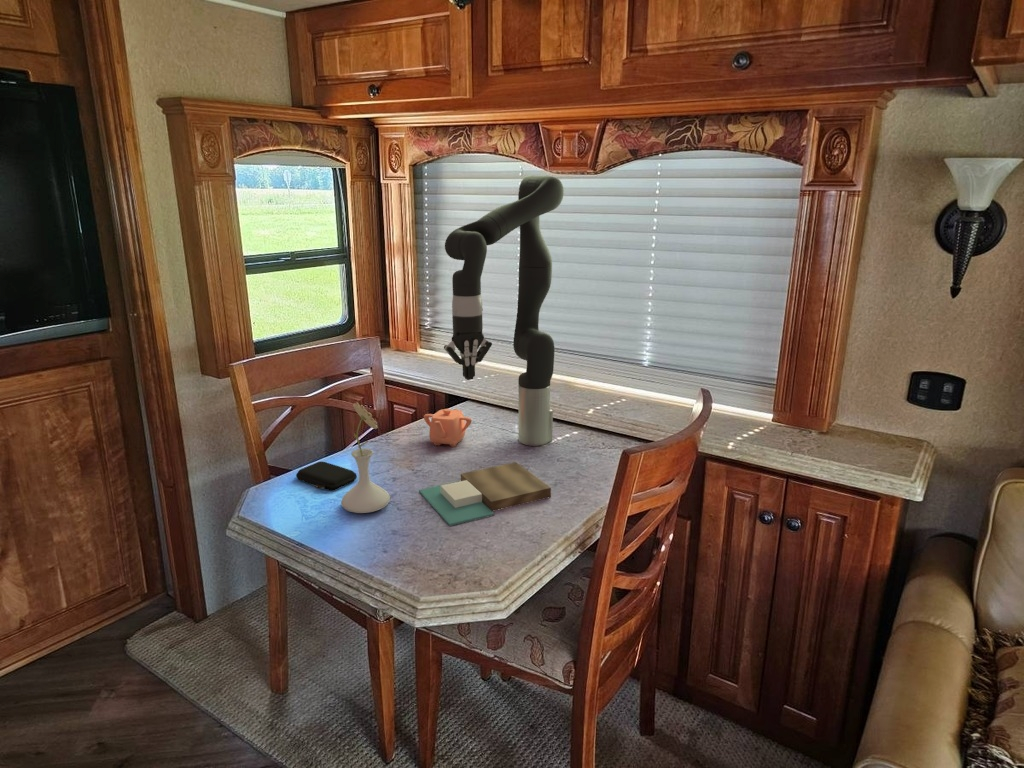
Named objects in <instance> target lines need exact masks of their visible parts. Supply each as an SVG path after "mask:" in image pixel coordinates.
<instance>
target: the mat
mask: <svg viewBox="0 0 1024 768" xmlns="http://www.w3.org/2000/svg"><path fill="white" fill-rule="evenodd" d="M460 481H461V480H459V481H457V482H460ZM455 482H456V481H454V482H452V483H455ZM450 483H451V482H448V484H450ZM446 484H447V483H445V484H443V485H446ZM441 485H442V484H440V485H439V484H438V485H435V486H431V487H426V488H421V489H418V493H420V495H421V494H422V495H421V496H422V497H423V498H424V500H426V501H427V502H428V503H429V504H430V506H431V507H432V508H433V509H434V510H435V511H436V512H437V514H438V515H439V516H440V517H441V518H442V519H443V521H445V523H446V524H448V525H449V527H451V526H455V525H456V524H457V525H461V524H464V522H465V523H469V522H472V520H473V521H476V520H475V519H477V520H480V519H479V518H481V519H485V518H488V517H487V516H489V517H492V516H491V515H493V516H495V513H494V511H491V510H490V509H489V508H488V507H487V506H486V505H485V504H484V503H483V502H478V503H474V504H470V505H465V506H461V507H457V508H455V507H454V506H453V505H452V504H451V503H450V502H449V501H448V500H447V499H446V498H445V497H444V496H443V495H442V494H441ZM484 517H485V518H484ZM468 521H469V522H468Z"/></svg>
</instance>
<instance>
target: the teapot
mask: <svg viewBox="0 0 1024 768" xmlns="http://www.w3.org/2000/svg"><path fill="white" fill-rule="evenodd" d="M430 418H431V420H430ZM423 420H424V422H425V423H426V424H427V425H428V426H429V434H428V437H429V441H430V442H431V443H433V445H434V446H436V445H438V446H441V445H442V444H444V445H449V446H451V447H450V448H455V446H456V445H457V444H458V443H459V442H461V440H462V441H463V438H464V437H465V435H466V433H467V432H466V431H467V429H468V428H469V427H470V426H471V423H472V421H473V420H472V418H471V417H469V416H464V413H463V411H462V410H459V409H457V408H454V409H450V408H444V409H440V410H437V411H436V412H435V413H434V414H433V413H426V414H424V415H423ZM440 444H441V445H440ZM456 447H457V446H456Z"/></svg>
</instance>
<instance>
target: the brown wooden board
mask: <svg viewBox="0 0 1024 768" xmlns="http://www.w3.org/2000/svg"><path fill="white" fill-rule="evenodd" d="M464 480H467V481H468V482H470V483H471V484H472V485H473V486H474V487H475V488H476V489H477V490H478V491H479V492H481V493H482V502H483V503H484V504H485V505H486V506H487V507H488V508H489V509H490V510H491V511H492V512H494V511H493V510H495V511H499V510H498V509H500V510H502V509H501V508H504V509H507V508H506V507H508V508H511V507H510V506H512V507H515V505H516V506H520V505H523V503H524V504H528V503H527V502H529V503H532V502H531V501H533V502H536V501H535V500H537V501H540V500H539V499H541V500H544V499H543V498H545V499H549V498H551V497H552V496H551V494H552V487H551V486H549V485H548V484H547V483H545V482H544V481H542V480H541V479H539V478H538V477H537V476H536V475H534V474H533V473H531V472H530V471H529V470H528V469H527V468H525V467H523V466H522V465H521V464H519V463H518V462H517V461H515V462H511V463H505V464H501V465H496V466H491V467H487V468H481V469H476V470H472V471H466V472H461V473H460V481H464ZM548 497H549V498H548ZM519 504H520V505H519Z"/></svg>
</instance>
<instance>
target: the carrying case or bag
mask: <svg viewBox="0 0 1024 768" xmlns="http://www.w3.org/2000/svg"><path fill="white" fill-rule="evenodd" d="M295 477H296V478H297V481H301V482H303V483H306V484H309V485H311V486H314V487H315V488H316V489H320V490H321V489H322V490H326V491H330V492H331V491H333V492H334V491H337V490H339V489H341V488H343V487H345V486H347V485H350V484H352V483H353V482H355V481H356V480H357V478H358V477H357V473H355V472H354V471H353V470H351V469H349V468H345V467H342V466H340V465H337V464H333V463H330V462H326V461H318V462H316V463H313V464H311V465H307V466H306V467H303V468H301V469H299V470H298V471H297V472H296V474H295Z"/></svg>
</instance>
